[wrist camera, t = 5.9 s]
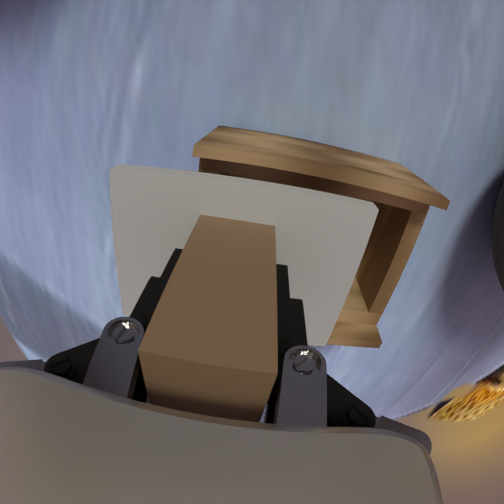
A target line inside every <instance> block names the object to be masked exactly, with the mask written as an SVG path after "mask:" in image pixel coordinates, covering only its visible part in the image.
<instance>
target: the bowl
mask: <svg viewBox="0 0 504 504" xmlns="http://www.w3.org/2000/svg"><path fill="white" fill-rule="evenodd" d="M492 249H493V259H494V264H495V269H496V273H497V276H498V279H499V282H500V284H501V286H502V289H503V291H504V181H503V183H502V185H501V188H500V191H499V194H498V198H497V201H496V206H495V211H494V217H493V227H492Z"/></svg>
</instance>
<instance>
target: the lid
mask: <svg viewBox="0 0 504 504" xmlns="http://www.w3.org/2000/svg"><path fill="white" fill-rule="evenodd" d="M110 194H111V213H112V227H113V239H114V249H115V258H116V267H117V275H118V282H119V289H120V296H121V302H122V308H123V314H124V315H126V316H130V315H131V313H132V311H133V309H134V307H135V305H136V303H137V301H138V299H139V297H140V295H141V293H142V292H143V290H144V288H145V286H146V284H147V282H148V280H149V279H150V277H151V276H155V277H161V275H162V273H163V271H164V269H165V267H166V265H167V263H168V261H169V259H170V257H171V255H172V253H173V251H174V249H175V248H178V249H183V251H182V253H181V255H180V257H179V259H178V261H177V263H176V265H175V267H174V269H173V272H172V274H171V276H170V278H169V280H168V282H167V285H166V287H165V289H164V291H163V293H162V296H161V298H160V300H159V302H158V305H157V307H156V309H155V311H154V314H153V316H152V318H151V321H150V323H149V325H148V327H147V330H146V332H145V335H144V337H143V339H142V342H141V344H140V346H139V349H138V353H139V358H140V363H141V368H142V372H143V377H144V381H145V386H146V390H147V394H148V399H149V403H150V404H152V405H156V406H160V407H165V408H169V409H174V410H179V411H184V412H189V413H195V414H200V415H206V416H212V417H219V418H226V419H233V420H241V421H249V422H258V423H259V421H260V419H261V416H262V414H263V411H264V409H265V406H266V403H267V401H268V398H269V396H270V393H271V390H272V388H273V385H274V382H275V380H276V377H277V374H278V337H277V275H276V264H282V265H287V266H288V277H289V290H290V298H295V299H302V301H303V307H304V316H305V325H306V334H307V343H308V345H313V346H324V347H325V346H326V344H327V341H328V339H329V337H330V335H331V333H332V330H333V328H334V326H335V324H336V321H337V319H338V317H339V315H340V312H341V310H342V307H343V305H344V303H345V300H346V298H347V295H348V293H349V291H350V288H351V286H352V283H353V281H354V278H355V275H356V273H357V270H358V268H359V265H360V262H361V260H362V257H363V254H364V252H365V249H366V246H367V243H368V240H369V238H370V235H371V232H372V229H373V226H374V223H375V220H376V217H377V214H378V211H379V209H378V208H377V207H376V205H375V204H374V203H373V202H369V201H365V200H360V199H356V198H351V197H346V196H342V195H337V194H332V193H327V192H322V191H317V190H311V189H306V188H301V187H295V186H290V185H284V184H278V183H272V182H266V181H260V180H253V179H247V178H240V177H233V176H226V175H219V174H211V173H203V172H195V171H186V170H177V169H168V168H158V167H147V166H136V165H123V164H118V165H116V166H114V167H113V168H111V169H110Z"/></svg>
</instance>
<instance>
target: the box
mask: <svg viewBox="0 0 504 504" xmlns="http://www.w3.org/2000/svg"><path fill="white" fill-rule="evenodd" d="M193 157H200V162H199V172H203V173H211V174H219V175H226V176H233V177H240V178H247V179H253V180H260V181H266V182H272V183H278V184H284V185H290V186H295V187H301V188H306V189H311V190H317V191H322V192H327V193H332V194H337V195H342V196H346V197H351V198H356V199H360V200H365V201H369V202H373V203H374V204H375V205H376V207H377V208H378V209H379V211H378V214H377V217H376V220H375V223H374V226H373V229H372V232H371V235H370V238H369V240H368V243H367V246H366V249H365V252H364V254H363V257H362V260H361V262H360V265H359V268H358V270H357V273H356V275H355V278H354V281H353V283H352V286H351V288H350V291H349V293H348V295H347V298H346V300H345V303H344V305H343V307H342V310H341V312H340V315H339V317H338V319H337V321H336V324H335V326H334V328H333V330H332V333H331V335H330V337H329V339H328V341H327V344H331V345H343V346H356V347H372V348H379V347H380V345H381V344H382V341H381V338H380V335H379V332H378V329H377V326H376V324H377V323H378V321H379V319H380V317H381V315H382V313H383V311H384V309H385V307H386V305H387V303H388V301H389V299H390V297H391V295H392V293H393V291H394V289H395V287H396V285H397V283H398V281H399V279H400V277H401V274H402V272H403V270H404V268H405V266H406V263H407V261H408V259H409V257H410V254H411V252H412V250H413V247H414V245H415V242H416V240H417V238H418V235H419V233H420V230H421V228H422V225H423V222H424V220H425V217H426V215H427V212H428V209H429V206H430V205H431V206H435V207H438V208H441V209H445V210H447V208H448V205H449V202H450V201H449V200H448V199H447V198H446V197H444V196H443V195H442V194H441V193H439V192H438V191H437V190H435V189H434V188H433V187H431V186H430V185H429V184H427V183H426V182H425V181H423V180H422V179H421V178H419V177H418V176H416V175H415V174H414V173H412V172H411V171H409V170H408V169H407V168H405V167H404V166H402V165H401V164H398V163H394V162H391V161H388V160H384V159H381V158H377V157H374V156H370V155H366V154H363V153H359V152H355V151H351V150H347V149H343V148H339V147H335V146H331V145H326V144H322V143H317V142H313V141H308V140H303V139H298V138H293V137H288V136H283V135H277V134H271V133H266V132H259V131H253V130H247V129H240V128H232V127H225V126H218V127H217V128H215V129H214V130H213V131H211V132H210V133H209V134H208V135H206V136H205V137H204V138H202V139H201V140H200V141H198V142H197V143H196V144H195V145H194V149H193Z"/></svg>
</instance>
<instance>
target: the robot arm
mask: <svg viewBox="0 0 504 504" xmlns="http://www.w3.org/2000/svg"><path fill="white" fill-rule="evenodd" d="M182 251H183V249H178V248H175V249H174V251H173V253H172V255H171V257H170V259H169V261H168V263H167V265H166V267H165V269H164V271H163V273H162V275H161V277H155V276H151V277H150V279H149V280H148V282H147V284H146V286H145V288H144V290H143V292H142V293H141V295H140V297H139V299H138V301H137V303H136V305H135V307H134V309H133V311H132V313H131V315H130V317H119V318H115V319H113V320H111V321H110V322H108V323H107V324H106V326H105V327H104V329H103V332H102V334H101V337H100V338H99V339H96V340H93V341H91V342H88V343H85V344H83V345H80V346H77V347H74V348H72V349H69V350H66V351H63V352H61V353H58V354H56V355H54V356H52V357H51V358H50V359H48V360H47V362H43V360H42V359H39V360H25V361H9V362H1V363H0V504H443V501H442V496H441V491H440V486H439V482H438V478H437V474H436V470H435V468H434V465H433V463H432V459H431V457H430V453H431V441H430V438H429V437H428V435H427V434H425V433H424V432H422V431H420V430H418V429H415V428H412V427H409V426H407V425H404V424H402V423H399V422H397V421H394V420H392V419H389V418H387V417H384V416H382V415H381V417H380V418H379V417H376V416H375V414H374V413H373V411H372V409H371V408H370V407H369V406H368V405H366V404H365V403H364V402H362V401H361V400H360V399H359V398H357V397H356V396H355V395H353V394H352V393H351V392H349V391H348V390H347V389H346V388H344V387H343V386H342V385H341V384H339V383H338V382H337V381H335V380H334V379H333V378H332V377H330V376H329V375H328V374H327V369H326V361H325V358H324V357H323V355H322V354H321V353H320V352H319V351H318V350H316V349H314V348H312V347H309V346H308V343H307V334H306V325H305V316H304V307H303V301H302V299H295V298H290V290H289V277H288V266H287V265H282V264H276V275H277V337H278V374H277V377H276V380H275V382H274V385H273V388H272V390H271V393H270V396H269V398H268V401H267V405H266V410H265V417H264V423H258V422H249V421H241V420H233V419H226V418H219V417H212V416H206V415H200V414H195V413H189V412H184V411H179V410H174V409H169V408H165V407H160V406H156V405H152V404H149V399H148V394H147V390H146V386H145V381H144V377H143V372H142V368H141V363H140V358H139V353H138V349H139V346H140V344H141V342H142V339H143V337H144V335H145V332H146V330H147V327H148V325H149V323H150V321H151V318H152V316H153V314H154V311H155V309H156V307H157V305H158V302H159V300H160V298H161V296H162V293H163V291H164V289H165V287H166V285H167V282H168V280H169V278H170V276H171V274H172V272H173V269H174V267H175V265H176V263H177V261H178V259H179V257H180V255H181V253H182Z"/></svg>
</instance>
